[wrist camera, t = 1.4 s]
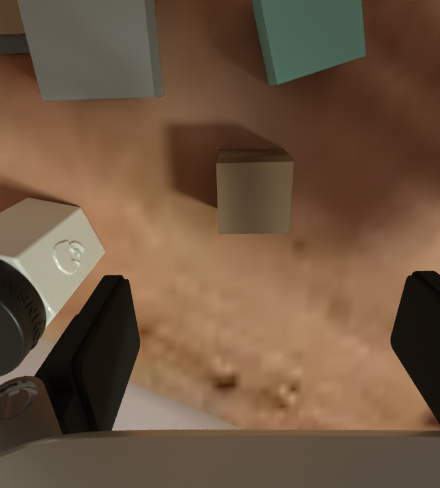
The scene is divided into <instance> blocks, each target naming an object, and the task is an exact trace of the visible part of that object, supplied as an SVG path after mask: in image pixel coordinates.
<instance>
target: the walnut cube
mask: <svg viewBox="0 0 440 488" xmlns="http://www.w3.org/2000/svg"><path fill="white" fill-rule="evenodd" d="M293 171H294V161H293V160H292V158H291V157H290V156H289V155H288V154H287V152H286V151H285V150H284V149H246V150H219V153H218V158H217V162H216V173H217V202H218V231H219V234H248V233H289V227H290V213H291V199H292V185H293Z"/></svg>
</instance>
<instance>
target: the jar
mask: <svg viewBox="0 0 440 488" xmlns="http://www.w3.org/2000/svg"><path fill="white" fill-rule="evenodd" d="M104 253H105V250H104V248H103V246H102V245H101V243H100V241H99V239H98V237H97V236H96V234H95V232H94V230H93V229H92V227H91V225H90V223H89V221H88V220H87V218H86V216H85V214H84V212H83V211H82V209H81V208H80V207H76V206H71V205H65V204H60V203H55V202H50V201H44V200H39V199H34V198H26V199H24V200H22V201H20V202H19V203H17V204H15V205H13V206H11V207H9V208H7V209H5V210H4V211H2V212H0V376H3V375H5V374H8V373H9V372H11V371H13V370H14V369H15V368H16V367H18V366H19V364H20V363H21V362H22V361H23V359H24V358H25V357H26V356H27V354H28V353H29V352H30V350H32V349H33V348H34V347H35V346H36V345H37V343H38V340H39V339H40V337H41V336H42V334H43V332H44V330H45V328H46V327H47V326H48V325H49V323H50V322H51V321H52V320H53V318H54V317H55V316H56V315H57V313H58V312H59V311H60V309H61V308H62V307H63V306H64V304H65V303H66V302H67V300H68V299H69V298H70V297H71V295H72V294H73V293H74V292H75V290H76V289H77V288H78V286H79V285H80V284H81V283H82V281H83V280H84V279H85V277H86V276H87V275H88V274H89V272H90V271H91V270H92V269H93V267H94V266H95V265H96V263H97V262H98V261H99V260H100V258H101V257H102V256H103V254H104Z"/></svg>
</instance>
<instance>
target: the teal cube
mask: <svg viewBox="0 0 440 488" xmlns="http://www.w3.org/2000/svg"><path fill="white" fill-rule="evenodd" d="M252 7H253V12H254V16H255V21H256V26H257V31H258V35H259V40H260V45H261V50H262V54H263V59H264V64H265V69H266V73H267V78H268V83H269V85H278V84H282V83H285V82H288V81H291V80H294V79H297V78H300V77H303V76H306V75H309V74H312V73H315V72H318V71H321V70H324V69H327V68H330V67H333V66H336V65H339V64H343V63H346V62H349V61H352V60H355V59H358V58H361V57H364V56H366V47H365V36H364V25H363V14H362V3H361V0H253V1H252Z"/></svg>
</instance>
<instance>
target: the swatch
mask: <svg viewBox="0 0 440 488" xmlns="http://www.w3.org/2000/svg"><path fill="white" fill-rule="evenodd" d="M25 53H30V50H29V46H28V42H27V38H26V34H25V30H24V26H23V22H22V18H21V14H20V10H19V6H18V2H17V0H0V54H25Z"/></svg>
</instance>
